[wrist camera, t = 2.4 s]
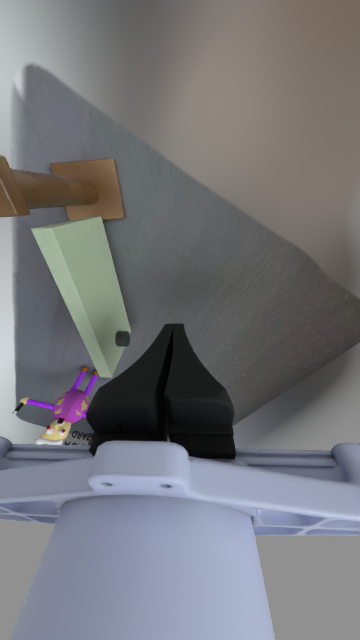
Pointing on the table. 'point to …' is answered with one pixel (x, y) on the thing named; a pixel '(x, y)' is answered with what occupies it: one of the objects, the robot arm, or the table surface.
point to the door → (88, 286)
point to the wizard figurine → (64, 412)
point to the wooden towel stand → (63, 189)
